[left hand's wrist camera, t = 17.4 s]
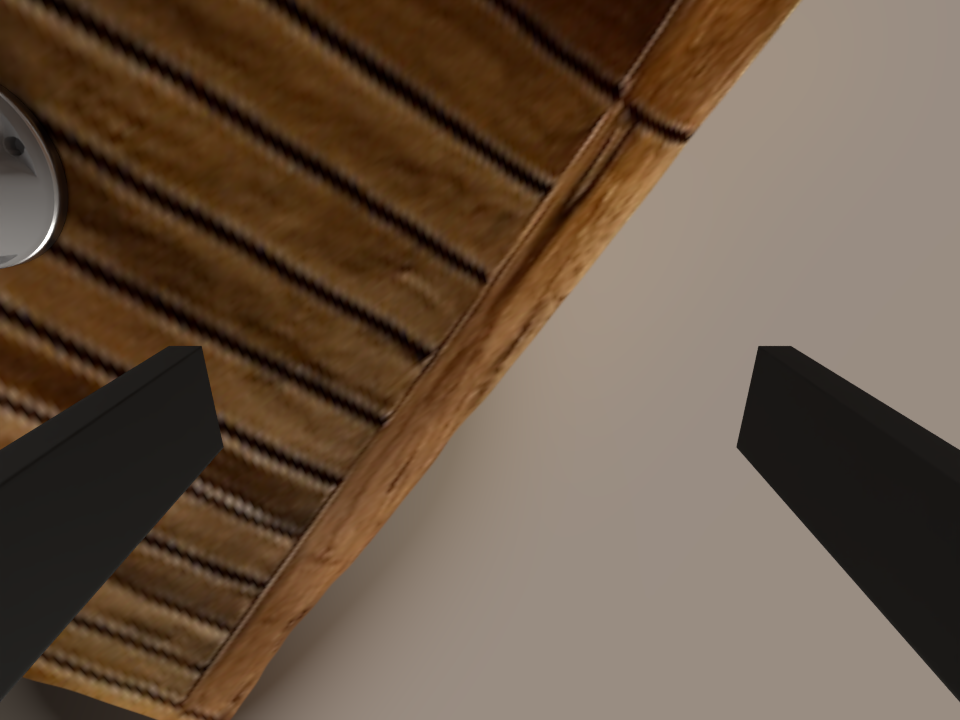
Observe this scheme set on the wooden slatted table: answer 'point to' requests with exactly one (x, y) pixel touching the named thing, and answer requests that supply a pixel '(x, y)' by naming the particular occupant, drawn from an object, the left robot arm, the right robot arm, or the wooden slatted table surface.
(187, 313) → the wooden slatted table surface
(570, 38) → the wooden slatted table surface
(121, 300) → the wooden slatted table surface
